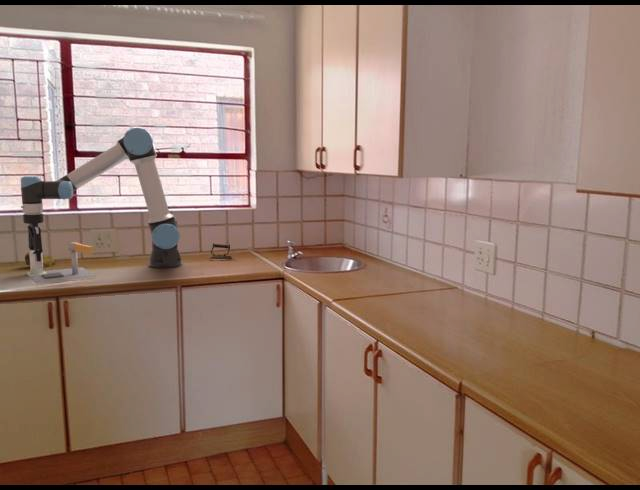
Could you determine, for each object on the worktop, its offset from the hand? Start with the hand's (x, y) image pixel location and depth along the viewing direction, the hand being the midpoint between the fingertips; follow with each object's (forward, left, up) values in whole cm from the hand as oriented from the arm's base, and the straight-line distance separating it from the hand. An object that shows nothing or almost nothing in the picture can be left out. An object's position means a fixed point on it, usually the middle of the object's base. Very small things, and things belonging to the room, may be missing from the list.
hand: (36, 266), depth 237 cm
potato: (-5, -17, -4) cm, 18 cm away
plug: (0, 0, -3) cm, 3 cm away
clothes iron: (-83, +7, -5) cm, 84 cm away
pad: (0, 0, -3) cm, 3 cm away
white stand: (-8, +5, -4) cm, 11 cm away
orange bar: (-15, +13, +7) cm, 21 cm away
